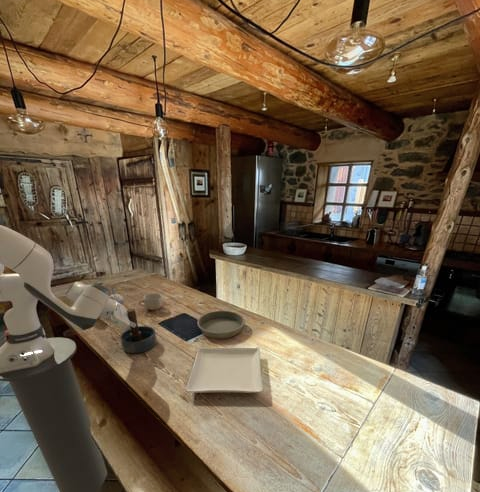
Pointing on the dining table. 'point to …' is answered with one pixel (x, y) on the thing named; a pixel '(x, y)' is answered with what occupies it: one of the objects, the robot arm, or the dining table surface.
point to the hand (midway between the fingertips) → (134, 323)
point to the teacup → (152, 301)
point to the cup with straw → (117, 297)
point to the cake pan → (220, 324)
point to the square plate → (226, 371)
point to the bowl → (141, 346)
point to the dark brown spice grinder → (135, 331)
